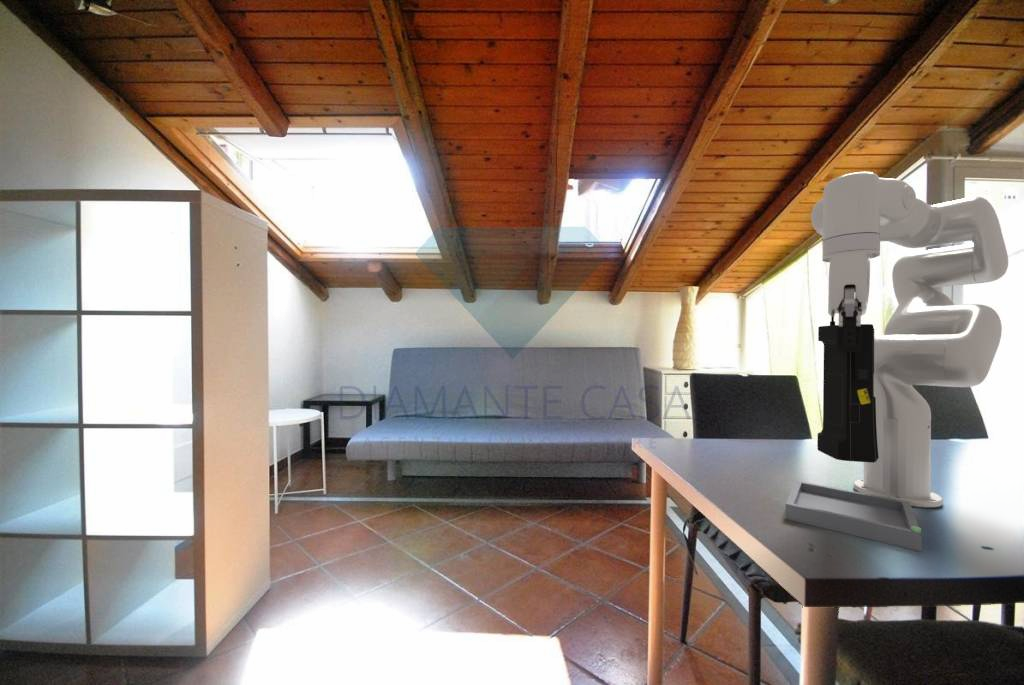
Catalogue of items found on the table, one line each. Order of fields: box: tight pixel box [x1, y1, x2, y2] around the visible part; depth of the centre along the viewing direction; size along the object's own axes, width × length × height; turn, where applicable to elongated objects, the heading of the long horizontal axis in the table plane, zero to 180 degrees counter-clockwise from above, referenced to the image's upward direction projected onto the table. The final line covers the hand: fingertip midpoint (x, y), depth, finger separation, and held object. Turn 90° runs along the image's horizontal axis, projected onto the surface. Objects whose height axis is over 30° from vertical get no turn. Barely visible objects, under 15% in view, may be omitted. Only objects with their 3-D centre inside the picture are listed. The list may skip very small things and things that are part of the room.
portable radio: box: [817, 312, 879, 463], centre depth 68 cm, size 8×6×25 cm
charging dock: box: [785, 480, 922, 552], centre depth 68 cm, size 16×16×3 cm
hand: (849, 351), depth 68 cm, fingers closed on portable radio, 8 cm apart
